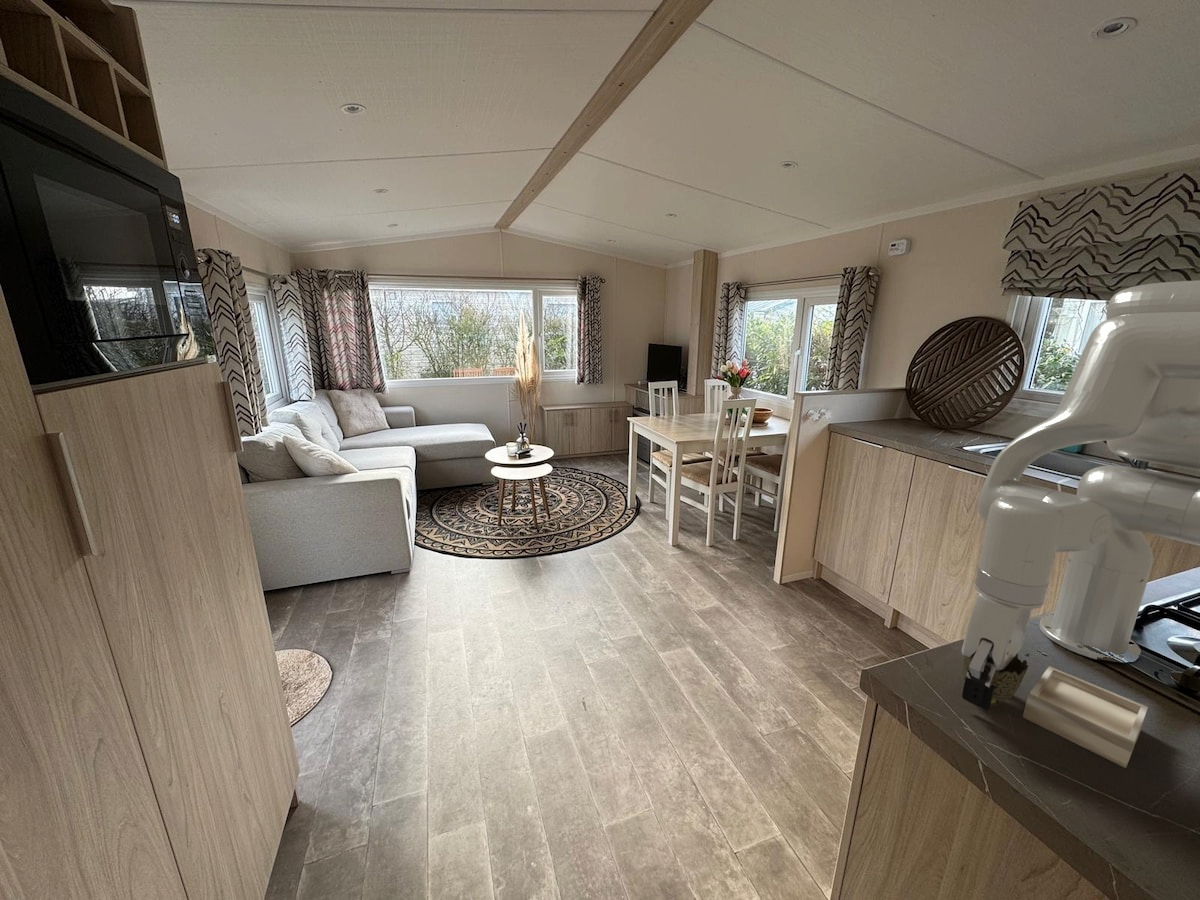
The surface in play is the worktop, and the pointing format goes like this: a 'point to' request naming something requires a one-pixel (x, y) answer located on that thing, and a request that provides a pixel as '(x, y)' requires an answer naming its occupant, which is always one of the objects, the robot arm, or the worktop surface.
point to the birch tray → (1086, 715)
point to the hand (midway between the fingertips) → (986, 690)
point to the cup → (1001, 677)
